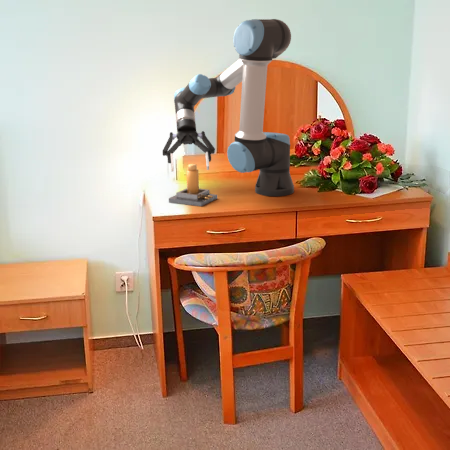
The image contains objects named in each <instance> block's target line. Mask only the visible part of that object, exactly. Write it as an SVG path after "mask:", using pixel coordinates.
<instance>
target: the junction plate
mask: <svg viewBox="0 0 450 450" xmlns="http://www.w3.org/2000/svg"><path fill="white" fill-rule="evenodd" d="M215 200H218V194H215V193H210V189H205V188H199V193H198V194H188V193H187V188H184V189H183V190H180V191H177V192H176V194H175V195H173V196H171V197H169V198H168V202H169V203H173V204H180V205H186V206H187V205H189V206H195V207H203V206H205V205H208V204H209V203H211V202H213V201H215Z"/></svg>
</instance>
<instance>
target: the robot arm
mask: <svg viewBox="0 0 450 450" xmlns="http://www.w3.org/2000/svg"><path fill="white" fill-rule="evenodd" d="M232 39H233V47H234V48H235V52H237V54H239V56H238V59H237V60H235V61H234V62H233V63H232V64H231V65H230V66H228V67H227V68H225V70H224V71H222V72H221V73H220V74H219V75H218V76H216V77H210V78H209V77H208V76H207V75H205V74H202V73H198V74H196V75H194V77H192V78H191V79H190V81H189V82H188V83H187V85H186V86H185V87H181V88H179V89H176V91H175V92H174V95H173V96H174V97H173V99H174V100H173V103H174V109H175V121H176V133H173V132H172V131H171V132H169V137H168V139H167V141H166V143H165V145H164V147H163V149H162V156H163V157H164V156H166V157H167V163H168V164H170V169H171V172H173V173H174V169H175V167H174V166H175V165H174V157H173V154H174V153H175V152H176V151H177V149H178V148H179V147H180V146H182V145H195V146H196V147H198V148H199V149H200V150H201V151H202V152H203V153H204V154H205V155H204V156H205V164H206V166H205V167H206V171H209V170H210V162H211V161H212V154H213V155H214V154H215V151H216V148H215V147H214V145H212V142H211V141H210V140H209V139H208V137H207V136H206V133H205V131H204V130H203V131H201V132H197V124H196V117H195V116H196V115H195V114H196V113H195V106H196V105H197V104H198V103H199V102H200V101H201V100H203V99H210V98H219V97H227V96H231V95H232V94H233V93H235V90H236V87H237V86H238V85H239V84H240V83H241V97H240V98H241V99H240V114H239V128H238V129H239V130H238V131H237V132H235V133H234V141H232V142H231V143H230V144H229V146H228V147H227V152H226V154H227V159H228V162H229V165H231V167H232V168H233V169H234V171H236V172H239V173H241V174H242V173H252V172H255V171H258V170H259V173H258V177H257V178H256V182H255V186H254V193H255V194H258V195H260V196H265V197H284V196H288V195H289V196H290V195H292V194H293V193H294V192H295V185H294V182H293V179H292V178H293V177H292V176H291V173H290V171H291V169H290V168H291V166H290V165H291V162H290V161H291V142H290V141H291V140H290V139H291V138H290V136H289V134H286V133H279V132H271V131H270V132H269V131H267V132H266V131H264V119H265V107H266V105H265V104H266V91H267V89H266V88H267V77H268V65H269V64H271V62H272V61H273V60H275V59H277V58H278V57H279V56H280V55H282V54H283V53H284V52H285V51H286V50H287V49H288V48H289V46H290V44H291V41H292V33H291V30H290V27H289V26H288V24H287V23H286V22H284V21H283V20H281V19H277V18H271V19H269V18H267V19H265V18H264V19H263V18H262V19H258V18H255V19H246V20H244V21H241V23H240V24H239V25H238V26H237V27H236V28H235V30H234V33H233V38H232ZM198 137H199V138H198ZM175 139H177V140H176V142H175V143H174V144H173V145H172V143H173V142H174V140H175ZM199 139H201V141H200V140H199ZM171 145H172V146H171Z"/></svg>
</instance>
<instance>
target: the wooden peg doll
mask: <svg viewBox="0 0 450 450" xmlns="http://www.w3.org/2000/svg"><path fill="white" fill-rule="evenodd" d="M197 167H198V165H197V164H195V163H189V164H187V169H186V173H185V174H186V189H187V193H188V194H198V193H199V189H200V185H199V184H200V183H199V181H200V180H199V175H200V174H199V169H197Z"/></svg>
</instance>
